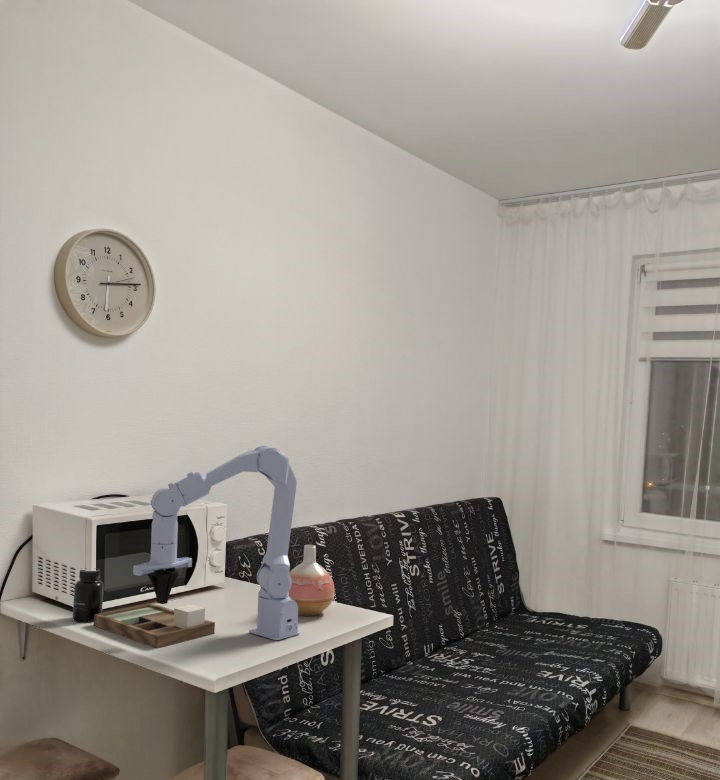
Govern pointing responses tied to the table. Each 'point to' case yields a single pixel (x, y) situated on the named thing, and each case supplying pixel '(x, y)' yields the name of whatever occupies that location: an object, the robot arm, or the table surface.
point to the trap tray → (150, 625)
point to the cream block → (189, 616)
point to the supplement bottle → (87, 596)
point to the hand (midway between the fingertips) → (162, 603)
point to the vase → (311, 585)
